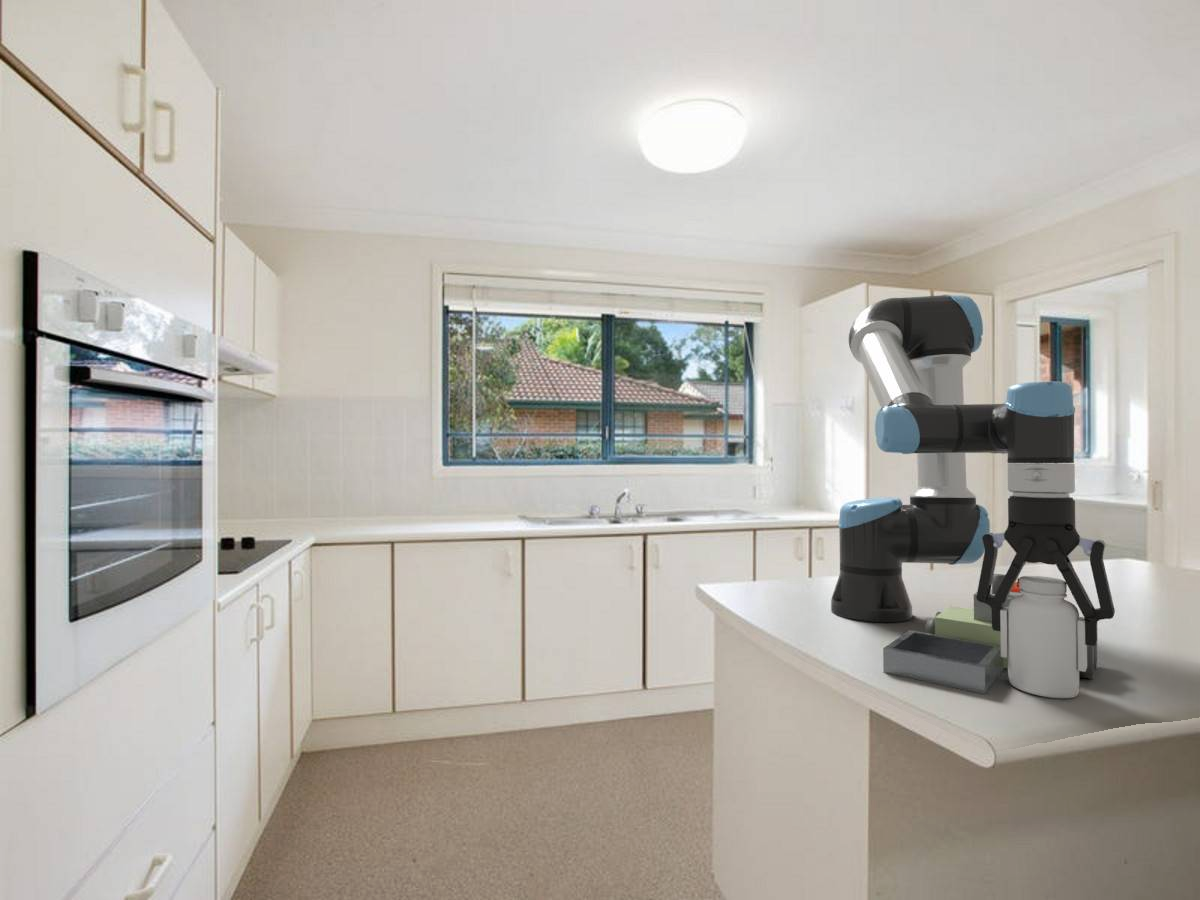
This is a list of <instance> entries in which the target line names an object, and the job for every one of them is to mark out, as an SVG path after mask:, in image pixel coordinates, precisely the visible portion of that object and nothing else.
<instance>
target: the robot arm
mask: <svg viewBox="0 0 1200 900" xmlns="http://www.w3.org/2000/svg"><path fill="white" fill-rule="evenodd" d="M983 335H984V325H983V319H982V313H981V310H980V308H979V306H978V304H977V303H976V302H975V301H974V300H973V299H972V298H971V297H969V296H967V295H959V294H958V295H957V294H955V295H953V294H952V295H951V294H943V295H931V296H930V295H929V296H910V297H890V298H886V299H882V300H879V301H877V302H875V303H872V304H871V305H869V306H868V307H866V308H865V309H863V311H862V312H860V314H859V315H858V316H857V317H856V318H855V320H854V321H853V323H852V325H851V327H850V330H849V333H848V346H849V349H850V351H851V354H852V356H853V357H854V359H855V360H856V361H857V362H858V363H859V364H860V363H861V364H862V366H863V369H864V371H865V374H866V375H867V378H868V381H869V383H870V385H871V388H872V390H873V392H874V394H875V397H876V399H877V401H878V402H877V403H878V404H879V406H880V408H879V409H878V411H877V413H876V415H875V416H876V417H875V421H874V422H875V423H874V424H875V425H874V433H875V437H876V439H875V440H876V441H875V442H876V444H877V447H878V448H879V449H880V450H881V451H882V452H885V453H894V454H895V453H896V454H897V453H899V454H903V455H911V454H916V460H917V461H916V465H917V488H916V489H915V490H914V491H913V492H912V493H911V494H910V495H909V504H903V501H902V500H901V498H899V497H877V498H876V497H875V498H868V499H867V498H865V499H858V500H854V501H848V502H846V503H844V504H843V505H842V506H841V508H840V510H839V520H838V527H837V528H839V531H838V532H839V576H838V578H837V582H836V583H835V584H836V585H835V587H834V591H833V593H832V596H831V600H830V611H831V612H832V613H834V614H836V615H838V616H841V617H843V618H847V619H851V620H858V621H862V622H863V621H865V622H872V623H873V622H875V623H899V622H906V621H909V620H911V619H912V618H913V605H912V602H911V599H910V597H909V594H908V591H907V587H906V586H905V583H904V579H903V568H902V567H903V563H907V564H908V563H911V564H943V565H945V564H947V565H950V566H954V565H961V564H962V565H968V564H973V563H976V562H977V561H979V560H980V559H981V558H983V559H982V565H981V569H980V576H979V579H978V585H977V591H976V592H977V596H976V599H977V600H978V601H979V602H983V603H985V604H988V605H989V606H990V607H991V609H992V628H993V630H994V631H1001V657H1006V658H1007V657H1008V607H1003V604H1004V602H1005V600H1006V599H1007V597H1008V595H1009V593H1010V591H1011V589H1012V587H1013V585H1014V583H1015V582H1017V579H1018V578H1019V575H1021V572H1022V570H1023V568H1024V567H1025V565H1026V563H1030V564H1037V563H1043V564H1046V565H1050V566H1051V565H1052V566H1056V567H1057V569H1058V571H1059V572H1060V574H1061V576H1062V578H1063V581H1065V582H1066V583H1067V587H1068V590H1069V592H1070V593H1071V594H1072V596H1073V599H1074V600H1075V603H1076V604H1077V607H1078V608H1079V610H1080V612H1081V614H1082V615H1083V616H1079V620H1077V632H1078V671H1083V672H1086V669H1087V645H1091V646H1095V645H1096V643H1097V644H1098V622H1099V621H1102V620H1111V619H1113V618H1114V616H1115V613H1116V610H1115V606H1114V603H1113V598H1112V597H1113V596H1112V593H1111V588H1110V583H1109V579H1108V575H1107V572H1106V565H1105V561H1104V554H1105V549H1106V543H1105V541H1104V540H1101V539H1096V540H1093V539H1089V538H1085V537H1081V536H1080V534H1079V532H1077V529H1076V500H1075V499H1074V498H1073V497H1070V494H1074V493H1075V492H1076V485H1075V484H1076V483H1075V482H1076V481H1075V479H1076V478H1075V477H1076V474H1075V473H1076V472H1075V471H1076V469H1075V413H1076V408H1075V405H1074V398H1073V397H1074V395H1073V387H1072V386H1071V385H1070V384H1069V383H1066V382H1063V381H1035V382H1034V381H1033V382H1023V383H1017V384H1013V385H1011V386H1009V388H1008V389H1007V391H1006V399H1005V401H1004V403H981V404H980V403H977V404H976V403H975V404H972V403H971V404H965V401H964V400H965V399H964V373H963V372H964V370H963V369H964V367H965V366H966V365H967V364H969V362H970V361H971V360H972V354H973V353H975V352H976V351H977V350H979V349H980V346H981V344H982V342H983V340H982V336H983ZM966 453H968V454H970V453H971V454H973V453H974V454H979V453H980V454H982V453H983V454H985V453H987V454H1002V455H1004V454H1005V455H1006V454H1007V459H1006V460H1007V490H1008V491H1009V492H1010V493H1012V495H1009V498H1007V510H1008V511H1007V513H1008V515H1007V519H1008V521H1007V522H1008V523H1007V528H1006V529H1005V531H1004V532H1000V533H999V532H997V533H993V532H990V531H991V530H990V529H991V525H990V518H989V513H988V510H987V509H986V508H985V507H984V506H982V505H980V504H977V496H976V495H975V494H974V493H973V492H971V490H969V488H968V487H967V465H966V464H967V460H966V459H967V458H966ZM1004 541H1006V542H1007V543H1008V544H1009V546H1010V548H1012V550H1013V551H1014V552H1015V555H1014V556H1013V559H1012V561H1011V563H1010V566H1009V567H1008V569H1007V571H1006V573H1005V574H1004V575H1005V577H1004V579H1003V581H1002V583H1001V585H1000V586H999V588H998V590H997V592H996V594H995V596H993V595H991V594H990V591H991V590H992V580H993V575H994V574H995V569H996V563H997V558H998V550H999V549H1000V548H1002V546H1003V542H1004ZM1078 546H1080V547H1081V548H1082V549H1083V553H1084V554H1085V556H1087V557H1089V563H1090V568H1091V573H1092V576H1093V581H1094V586H1095V591H1096V594H1097V599H1098V603H1099V607H1097V608H1095V606H1094V605H1093V603H1092V601H1091V599H1090V596H1089V595H1088V592H1087V591H1086V589H1085V587H1084V585H1083V583H1082V582H1081V580H1080V577H1079V576H1078V574H1077V572H1076V570H1075V568H1074V565H1073V563H1072V561H1071V560H1070V558H1069V555H1070V554H1071V553H1072V552H1074V550H1075V549H1076V548H1077V547H1078ZM982 556H983V557H982Z"/></svg>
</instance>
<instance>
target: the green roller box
mask: <svg viewBox="0 0 1200 900" xmlns="http://www.w3.org/2000/svg"><path fill="white" fill-rule="evenodd" d="M1005 575H1006V574H1003V573H994V575H993V580H992V586H991V591H990V594H991V595H993V596H995V594H996V592H997V590H998V588H999V586H1000V585H1001V583H1002V581H1003V579H1004V577H1005ZM1018 595H1022V593H1017V592H1010V593H1009V595H1008V597H1007V599H1006V600H1005V602H1004V604H1003V607H1008V604H1009V602H1010V600H1011V599H1012V598H1013V597H1015V596H1018ZM976 596H977V591H976V592H974V593H973V609H972V608H968V607H967V608H966V607H959V606H953V605H950V606H948V608H946V609H944V610H943V611H937V612H936V613H935V615H934V618H933V617H928V618H927V620H926V622H925V625H924V626H925V627H924V633H929V634H935V635H941V636H947V637H953V638H959V639H965V640H971V641H976V642H982V643H988V644H994V645H1000V646H1001V631H994V630H993V628H992V609H991V607H990V606H989V605H988V604H985V603H983V602H979V601H978V600H977V599H976ZM1097 665H1098V642H1097V643H1096V645H1095V646H1091V645H1087V669H1086V672H1083V671H1079V678H1084V679H1089V680H1094V674H1095V670H1097ZM1004 668H1005V669H1008V657H1007V658H1006V657H1004Z"/></svg>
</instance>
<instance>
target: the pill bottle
mask: <svg viewBox="0 0 1200 900" xmlns="http://www.w3.org/2000/svg"><path fill="white" fill-rule="evenodd" d="M1018 578H1019V588H1020V590H1019V591H1020V592H1021V593H1022V595H1018V596H1015V597H1013V598H1012V599H1011V600H1010V602H1009V604H1008V668H1007V676H1008V677H1007V678H1008V682H1009V683H1010V685H1011V686H1012V687H1015V688H1016V689H1018V690H1020V691H1022V692H1025V693H1028V694H1032V695H1036V696H1040V697H1043V698H1050V699H1051V698H1052V699H1072V698H1075V697H1077V696H1078V694H1079V691H1080V677H1079V671H1078V632H1077V620H1079V617H1080V613H1079V609H1078V608H1077V606H1076V605H1075V604H1074V603H1073V602H1070V601H1069V600H1066V599H1065V598H1067V596H1068V595H1067V590H1068V589H1067V587H1068V585H1067V583H1066V581H1065V580H1064V579H1061V578H1060V579H1059V578H1057V577H1056V578H1055V577H1051V576H1041V575H1040V576H1039V575H1023V576H1020V577H1018Z"/></svg>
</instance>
